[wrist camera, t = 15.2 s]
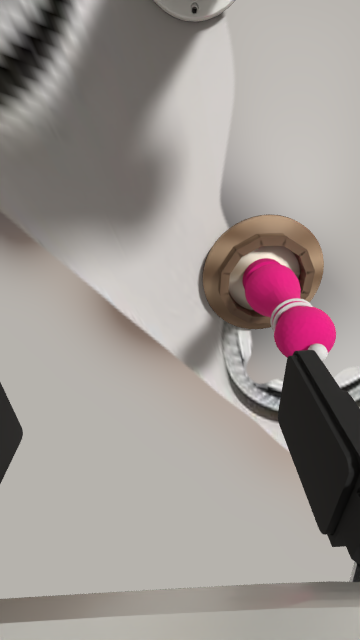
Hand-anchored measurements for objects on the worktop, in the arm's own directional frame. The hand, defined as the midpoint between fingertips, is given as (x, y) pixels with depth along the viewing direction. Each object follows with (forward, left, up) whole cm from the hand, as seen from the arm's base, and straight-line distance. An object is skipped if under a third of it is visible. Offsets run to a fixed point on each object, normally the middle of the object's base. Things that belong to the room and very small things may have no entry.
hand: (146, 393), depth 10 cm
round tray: (+11, +15, -36) cm, 41 cm away
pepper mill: (+10, +15, -35) cm, 39 cm away
